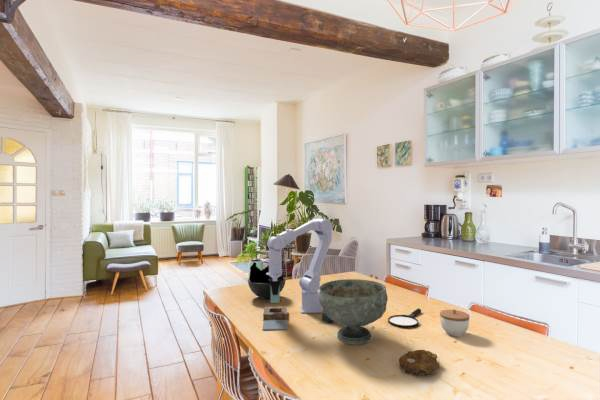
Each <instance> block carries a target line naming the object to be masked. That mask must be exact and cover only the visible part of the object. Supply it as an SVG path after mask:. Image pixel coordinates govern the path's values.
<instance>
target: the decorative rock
mask: <svg viewBox="0 0 600 400" xmlns="http://www.w3.org/2000/svg"><path fill="white" fill-rule="evenodd" d="M398 366H399V367H400V368H401V369H402V370H403V371H404V374H405V375H409V374H410V375H411V376H415V374H416V375H417V376H424V375H425V374H427V375H430V376H431V375H432V374H434V373H436V371H438V369H440V362H439V361H438V355H437V353H433V352H432V351H430V350H425V349H417V350H413V351H407V352H405V353H404V354H403V355H401V356H400V357H399V358H398Z"/></svg>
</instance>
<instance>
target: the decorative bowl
mask: <svg viewBox="0 0 600 400" xmlns="http://www.w3.org/2000/svg"><path fill="white" fill-rule="evenodd" d="M318 291H319V292H320V295H319V301H320V304H321V307H322V312H323V313H325V314H326V315H327V316H328V318H330V319H331V320H333V321H334V322H333V323H336V324H338V325H342V327H341V328H339V330H338V331H337V332H336V333H337V339H338V340H339V341H340V342H342V343H345V344H348V345H349V344H350V345H364V344H367V343H369V342H371V341H372V340H373V334H372V332H371V331H370V330H369V329H367V328H365V326H368V325H371V324H372V323H375V322H376V321H378V320H379V319H382V317H383V316H384V314H385V313H386V311H387V305H388V299H389V298H388V292H387V286H386V284H383V283H381V282H378V281H374V280H369V279H359V278H358V279H357V278H354V279H353V278H351V279H348V278H347V279H346V278H345V279H335V280H331V281H327V282H324V283H322V284H321V285H320V287H319V290H318Z"/></svg>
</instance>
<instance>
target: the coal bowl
mask: <svg viewBox="0 0 600 400" xmlns="http://www.w3.org/2000/svg"><path fill="white" fill-rule="evenodd" d="M249 270H250V272H249V277H248V279H247V284H248V287H249V289H250V292H252V293H253V295H255V296H256V297H258V298H261V299H271V288H270V282H269V279H270V278H269V275H266V273H269V264H268V265H267V266H265V267H264V268H263V269H260V268H259V267H258V266H257V262H255V261H254V262H253V263H252V264H251V266H250V268H249ZM281 276H282V278H281V283H280V293H281V292H282V291H283V289H284V288H285V285H286V281H287V280H286V277H284V274H283V272H282V275H281Z"/></svg>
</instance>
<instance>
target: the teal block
mask: <svg viewBox="0 0 600 400" xmlns="http://www.w3.org/2000/svg"><path fill="white" fill-rule="evenodd" d="M270 288H271V285H270ZM280 293H281V292H280V285H279V290H278V295H273V294H272V288H271V298H270V304H271V303H272V304H274V303H276V304H277V303H280V302H281V301H280V300H281V299H280V297H281V295H280Z"/></svg>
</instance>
